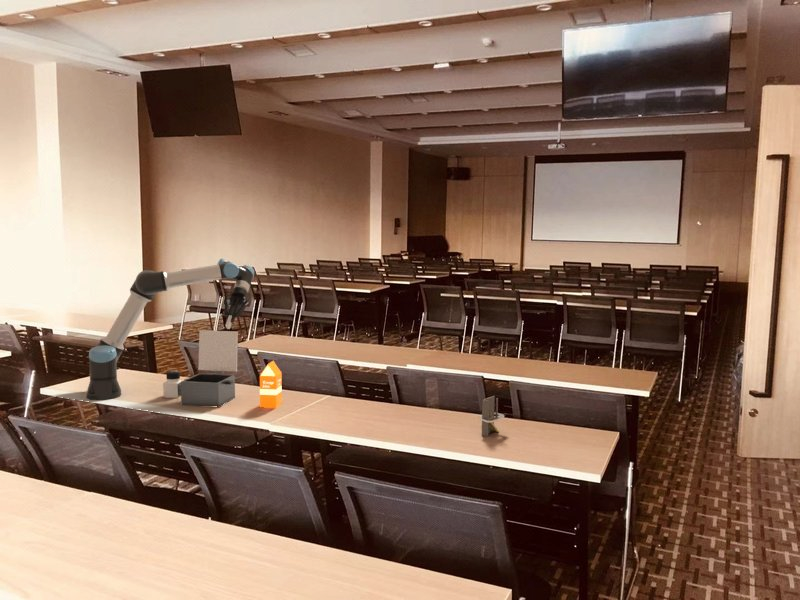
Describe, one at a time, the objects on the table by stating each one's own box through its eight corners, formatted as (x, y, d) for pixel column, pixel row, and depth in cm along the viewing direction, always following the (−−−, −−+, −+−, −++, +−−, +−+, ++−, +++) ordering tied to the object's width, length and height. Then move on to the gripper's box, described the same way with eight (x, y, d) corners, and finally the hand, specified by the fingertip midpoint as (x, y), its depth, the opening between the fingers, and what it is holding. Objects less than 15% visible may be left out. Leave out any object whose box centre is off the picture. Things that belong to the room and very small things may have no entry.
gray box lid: (198, 372, 305) (201, 371, 308) (235, 374, 302) (238, 373, 305) (199, 330, 305) (202, 330, 308) (236, 331, 302) (239, 331, 305)
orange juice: (282, 403, 294) (281, 360, 293) (276, 408, 286) (276, 364, 284) (265, 402, 295) (265, 360, 293) (259, 407, 286) (259, 363, 285)
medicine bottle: (178, 398, 302) (177, 373, 301) (163, 397, 302) (162, 372, 301) (183, 394, 309) (183, 370, 308) (169, 394, 309) (168, 369, 308)
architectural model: (528, 432, 255) (529, 396, 254) (496, 447, 236) (497, 409, 235) (486, 423, 268) (487, 389, 266) (452, 436, 248) (453, 400, 247)
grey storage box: (194, 395, 306) (194, 373, 305) (239, 398, 303) (239, 375, 302) (176, 405, 289) (175, 381, 288) (223, 407, 285) (223, 383, 284)
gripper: (254, 296, 331) (242, 332, 316) (230, 295, 333) (217, 331, 318) (250, 286, 325) (237, 323, 310) (226, 286, 327) (212, 322, 312)
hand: (227, 327), depth 314 cm, fingers closed
